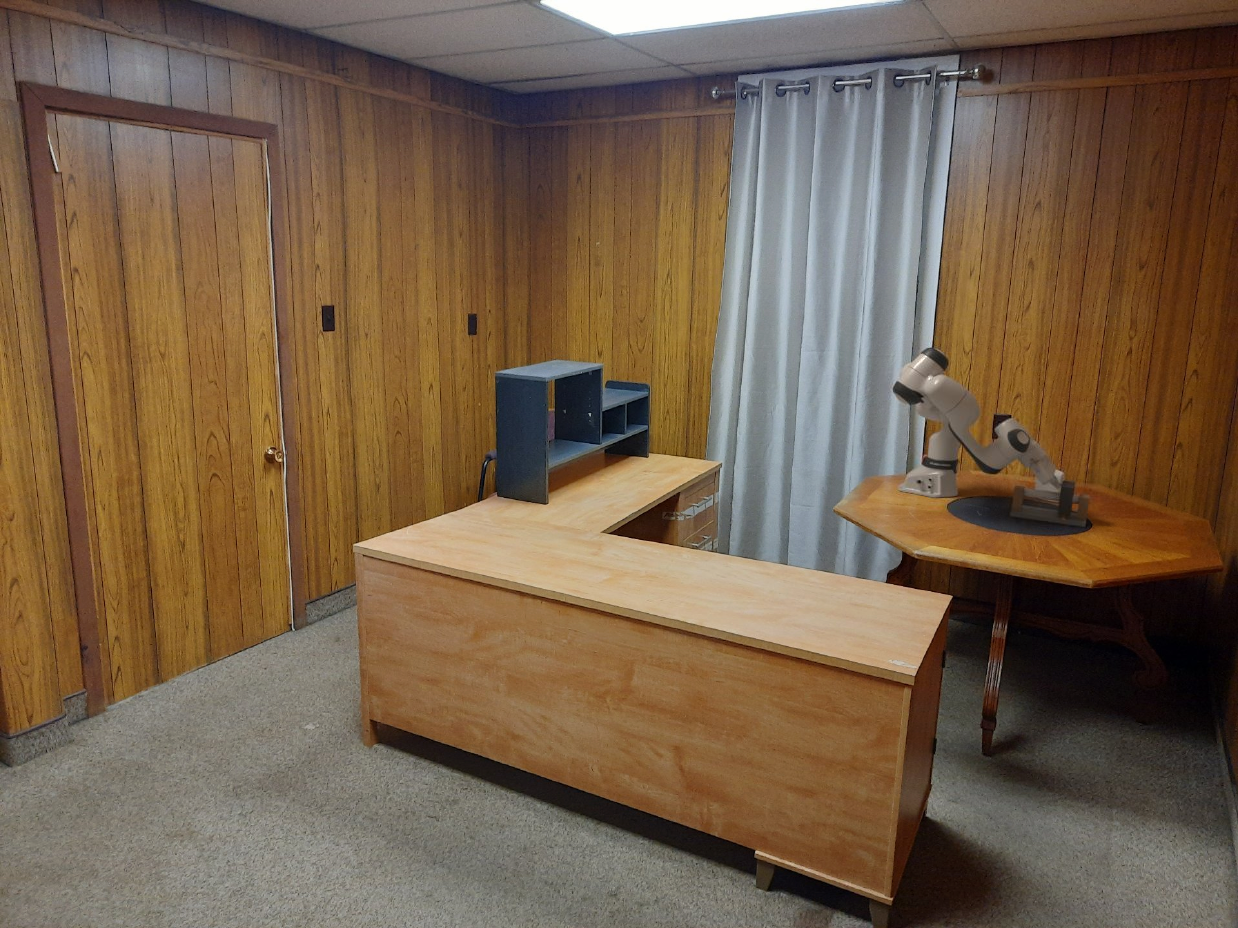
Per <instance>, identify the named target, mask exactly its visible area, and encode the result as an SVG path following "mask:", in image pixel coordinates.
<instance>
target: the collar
mask: <svg viewBox="0 0 1238 928" xmlns="http://www.w3.org/2000/svg"><path fill="white" fill-rule="evenodd" d="M1075 487H1076V481H1072V480H1070V481H1069V480H1065V481H1063V482H1062V486H1061V492H1060V499H1059V503H1058V506H1057V507H1058V508H1057V510H1058V514H1061V515H1068V516H1070V514H1071V512H1072V509H1073V504H1074V503H1072V501H1073V495H1075Z"/></svg>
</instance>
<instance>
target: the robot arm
mask: <svg viewBox="0 0 1238 928" xmlns="http://www.w3.org/2000/svg"><path fill="white" fill-rule="evenodd" d="M949 364H950V363H949V359H948V357H947V356H946V354H945V353H944V352H943V351H942V350H940V349H937V348H935V347H927V348H925V349H923V350H922V351H921V352H920V354H919V355H918V356H917V357H916V358H915V359H913V360H912V361H911V362H909V363H908V362H907V363H906V364H905V365H904V366H902V368H901V370H900V372H899V379H898V380H896V381H895V383H894V384H893V386H892V393H893V394H894V396H895V398H896V399H897V400H898V401H900V402H901V403H903V404H906V405H908V406H913V405H914V406H916V412H917V414H918V415H919V416H920V417H921V418H925V419H927V420H930V421H933V422H939V423H942V425H941V429H940V430H939V431H937V432H934V433H933V434H932V435H931V436H930V437H929V440H928V449H927V450H928V451H927V454H924V455H923V456H922V457H921V464H920V465H919V466H917V467H915V468H913V469H912V470H910V471H908V472H907V475H906V476H905V479H904V482H901V483H899V485H898V487H897V489H898V491H900V492H903V493H909V494H914V495H920V496H925V497H929V498H937V499H938V498H949V497H957V496H958V495H959V491H958V490H959V489H958V484H957V474H958V471H959V461H960V460H959V458H958V457H959V451H960V445H961V446H962V448H963V449H964V450H965V451H966V452H967V454H968V455H969V456H970V457H971V458H972V459H973V461H974V463H975V464H976V465H977V467H978V468H979V470H980V471H981V472H982V473H984V474H987V475H998V474H999V473H1001V471H1003V470H1004V469H1005V468H1006V467H1007V466H1009V465H1011V464H1013V463H1014V462H1015V461H1016V460H1018V462H1019V463H1020V464H1021V465H1022V466H1023V468H1025V469H1027V468H1030V471H1031V473H1033V475H1034V477H1035V478H1036V477H1037V478H1038V480H1039V481H1040V482H1041V483H1042V484H1043V485H1045V484H1047V483H1048V482H1049V483H1050V484H1052V485H1053V486H1054V487H1055V488H1056V489H1059V488H1060V487H1061V483H1060V482H1059V481H1058V479H1057V478H1056V476H1055V475H1054V474H1055V471H1056V470H1057V467H1056V466H1055V464H1054V463H1053V461H1052V460H1051V459H1050V458H1049V456H1048V455H1047V451H1046V450H1045V449H1044V448H1043V447H1042V446H1041V445H1040V444H1039V442H1038V441H1036V440H1035V439H1034V438H1033V437H1032V436H1031V434H1030V432H1029V431H1028V430H1027V429H1026V428H1025V427H1024V426H1023V425H1022V424H1021V423H1020V422H1018V420H1017V419H1015V418H1013V417H1011V418H1007V419H1005V420H1003V421H1001V422H1000V423H999V424H997V425H996V426H995V427H994V433H996V435H997V437H998V438H996V439H995V440H994V441H992V442H991V443H989V444H987V445H986V446H982V445H981V444H980V443H979V441H977V440H976V439H975V437H974V436H973V435H972V434H971V433H970V430H969V428H970V427H971V426H973V425H974V424H976V423H977V421H978V420H979V418H980V415H981V407H980V405H979V403H978V401H977V398H976V396H975V395H974V394H972V392H971V391H970V390H968V389H967V388H966V387H965V386H964V385H962V384H961V383H959V382H958V381H956V380H955V379H953V378H951V377H949V376H947V375H946V374H943V373H944V372H946V370H947V368H948V367H949Z"/></svg>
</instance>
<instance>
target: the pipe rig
mask: <svg viewBox="0 0 1238 928" xmlns="http://www.w3.org/2000/svg"><path fill="white" fill-rule="evenodd" d="M1090 496H1091V495H1090V494H1085V493H1080V494H1079V495H1078V494H1074V495H1073V501H1072V503H1073V504H1078V506H1077V512H1072V511H1071V514H1070V516H1068V515H1061V514H1058V509H1052V508H1051V509H1049V508H1042V507H1037V506H1036V507H1035V506H1029V505H1023V503H1024V497H1025V498H1033V499H1038V498H1039V500H1043V499H1047V500H1046V501H1048V500H1054V501H1059V499H1060V493H1058V492H1050V491H1042V490H1035V488H1033V489H1032V488H1026V487H1025V486H1024V485H1023V486H1022V485H1015V486H1014V489H1013V496H1012V502H1011V503H1012V505H1011V510H1010V513H1009V517H1012V516H1013V517H1012V518H1019V519H1027V520H1033V521H1040V522H1047V521H1048V523H1055V524H1062V525H1069V526H1074V525H1075V526H1076V527H1083V528H1086V524H1087V517H1088V511H1089V504H1090Z"/></svg>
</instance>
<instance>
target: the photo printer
mask: <svg viewBox="0 0 1238 928" xmlns="http://www.w3.org/2000/svg"><path fill="white" fill-rule="evenodd" d="M1054 475H1055V476H1056V478H1057V479H1058V481H1059V482H1060V483H1061V486H1062V482H1063V481H1066V475H1065V473H1064V472H1063V471H1061V470H1058V469H1056V471H1055V474H1054ZM1034 484H1035V485H1034V489H1035V490H1042V491H1050V492H1058V493H1060V492H1061V487H1060V488H1059V489H1056V488H1055V487H1054V486H1053V485H1052V484H1050V483H1049V482H1048V483H1047V484H1045V485H1043V484H1042V483H1041V482H1040V481H1039V480H1038V478H1037V477H1036V476H1035V483H1034ZM1037 499H1039V498H1037ZM1039 500H1040V499H1039ZM1042 500H1043V501H1048V502H1053V503H1058V504H1059V501H1054V500H1047V499H1042Z"/></svg>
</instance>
